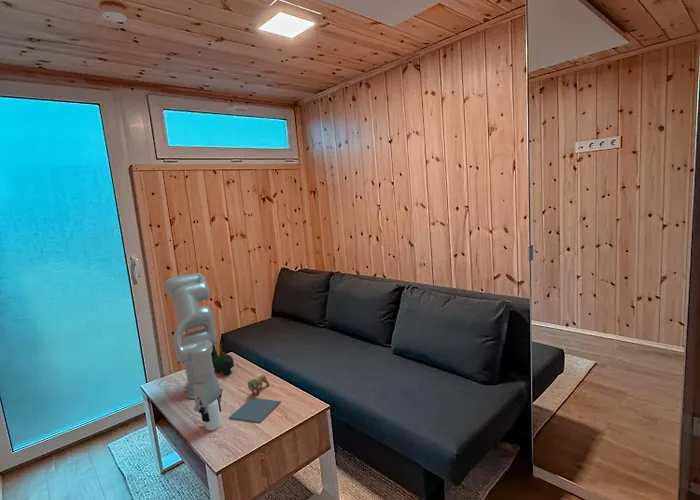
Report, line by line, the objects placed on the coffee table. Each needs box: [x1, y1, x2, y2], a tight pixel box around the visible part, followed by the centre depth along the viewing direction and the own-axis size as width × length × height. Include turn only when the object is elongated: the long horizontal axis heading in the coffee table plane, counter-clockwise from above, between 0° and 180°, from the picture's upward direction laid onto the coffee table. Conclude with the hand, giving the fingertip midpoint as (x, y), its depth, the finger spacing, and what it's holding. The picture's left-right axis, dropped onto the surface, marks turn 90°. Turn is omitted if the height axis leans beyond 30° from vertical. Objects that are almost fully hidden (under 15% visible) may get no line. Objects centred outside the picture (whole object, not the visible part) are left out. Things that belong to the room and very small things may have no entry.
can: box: [203, 399, 223, 432], centre depth 158 cm, size 6×6×12 cm
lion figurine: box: [247, 374, 270, 396], centre depth 183 cm, size 15×5×9 cm, turn 165°
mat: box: [228, 397, 282, 424], centre depth 167 cm, size 16×16×1 cm
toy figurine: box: [211, 345, 235, 376], centre depth 210 cm, size 9×19×25 cm
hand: (212, 416), depth 158 cm, fingers closed on can, 6 cm apart
